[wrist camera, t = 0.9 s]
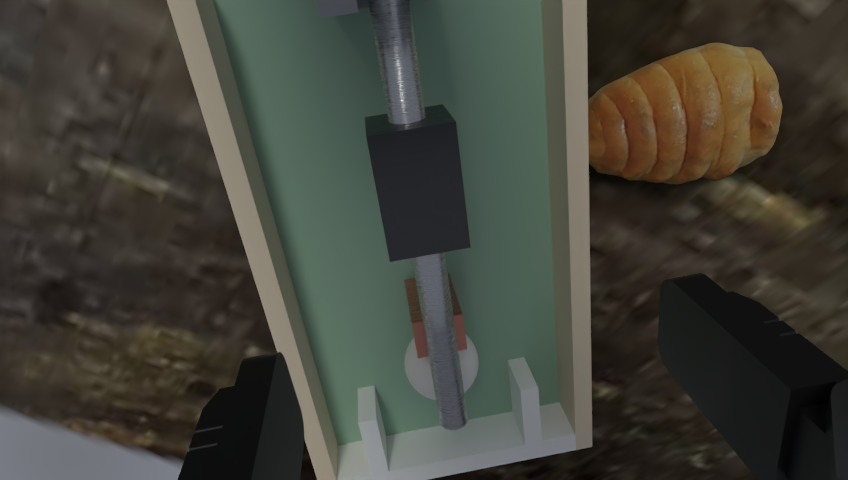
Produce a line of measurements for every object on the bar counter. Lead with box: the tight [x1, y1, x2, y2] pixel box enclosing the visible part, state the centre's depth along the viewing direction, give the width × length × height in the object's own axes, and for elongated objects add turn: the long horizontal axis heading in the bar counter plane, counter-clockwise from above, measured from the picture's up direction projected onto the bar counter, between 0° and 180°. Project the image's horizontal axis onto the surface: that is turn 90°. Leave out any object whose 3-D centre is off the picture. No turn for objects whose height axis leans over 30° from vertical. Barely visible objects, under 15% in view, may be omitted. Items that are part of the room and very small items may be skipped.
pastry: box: [588, 42, 782, 185], centre depth 27 cm, size 9×7×4 cm
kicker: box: [364, 0, 471, 430], centre depth 24 cm, size 24×3×6 cm, turn 8°
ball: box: [404, 334, 479, 400], centre depth 30 cm, size 4×4×4 cm
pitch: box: [167, 0, 592, 480], centre depth 26 cm, size 27×16×8 cm, turn 8°
